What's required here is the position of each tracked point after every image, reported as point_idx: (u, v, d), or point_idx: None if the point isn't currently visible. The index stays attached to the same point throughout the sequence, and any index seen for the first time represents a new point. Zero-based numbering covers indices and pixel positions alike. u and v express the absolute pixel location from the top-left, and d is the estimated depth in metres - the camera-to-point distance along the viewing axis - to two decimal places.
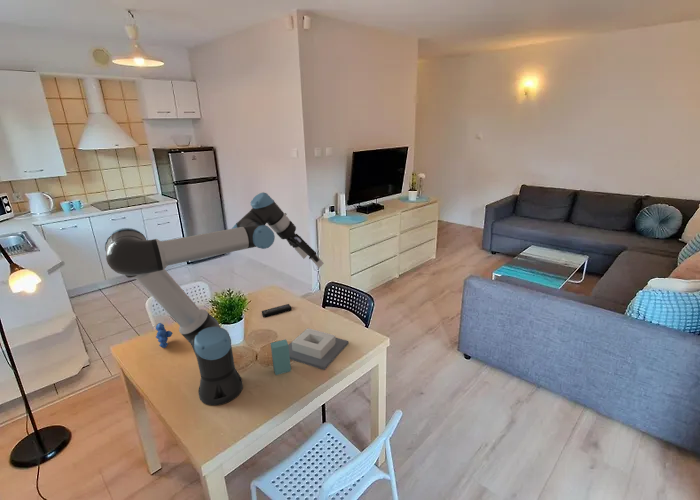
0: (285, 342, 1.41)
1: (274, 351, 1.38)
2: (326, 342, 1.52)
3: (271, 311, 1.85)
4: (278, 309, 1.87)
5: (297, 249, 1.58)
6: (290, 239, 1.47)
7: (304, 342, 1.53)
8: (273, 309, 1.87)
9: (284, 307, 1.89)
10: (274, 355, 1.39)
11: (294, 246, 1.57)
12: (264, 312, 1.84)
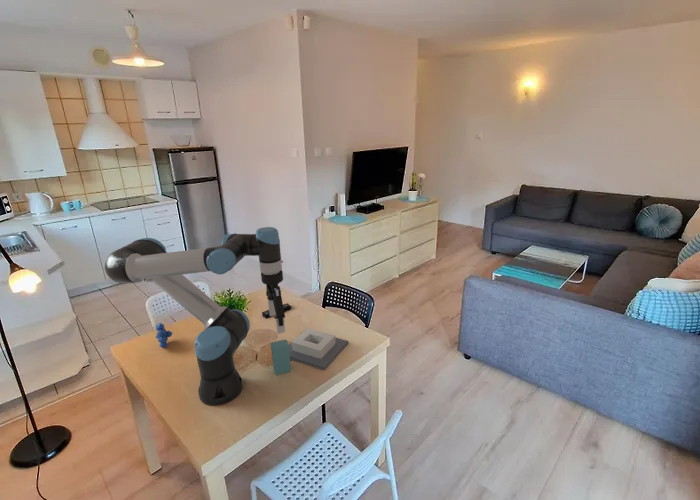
0: (285, 342, 1.41)
1: (274, 351, 1.38)
2: (326, 342, 1.52)
3: None
4: None
5: (270, 303, 1.41)
6: (269, 287, 1.31)
7: (304, 342, 1.53)
8: None
9: (284, 306, 1.89)
10: (274, 355, 1.39)
11: (269, 298, 1.40)
12: (265, 313, 1.83)
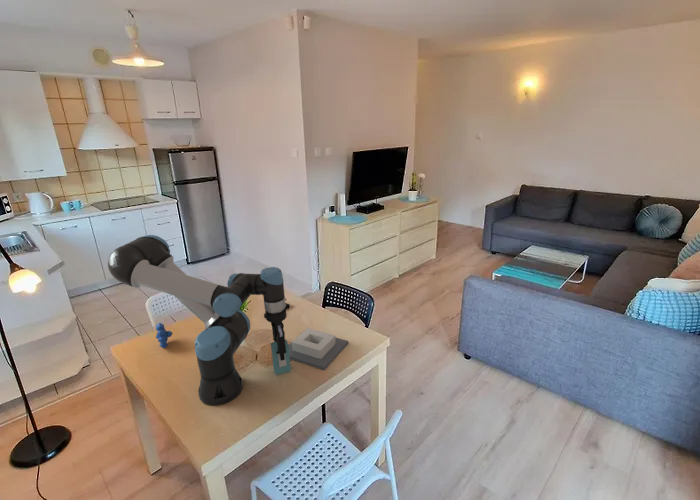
0: (285, 342, 1.41)
1: (274, 351, 1.38)
2: (326, 342, 1.52)
3: None
4: None
5: None
6: (274, 325, 1.35)
7: (304, 342, 1.53)
8: None
9: None
10: (274, 355, 1.39)
11: (275, 341, 1.42)
12: None
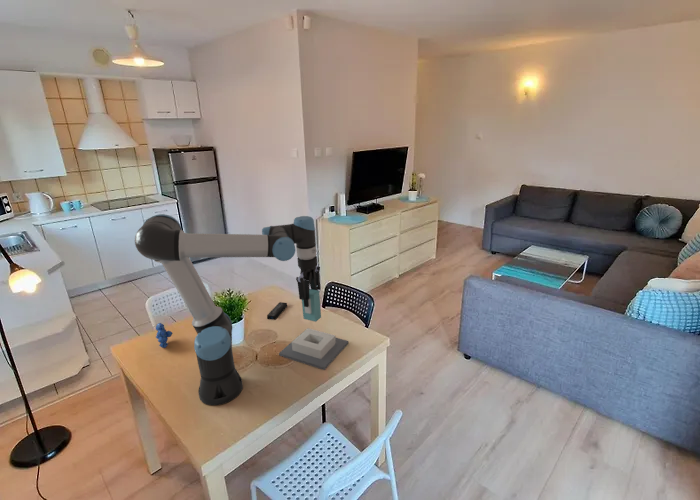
0: (314, 292, 1.46)
1: None
2: (326, 342, 1.52)
3: (276, 312, 1.84)
4: (279, 308, 1.88)
5: None
6: None
7: (304, 342, 1.53)
8: (275, 310, 1.86)
9: (281, 305, 1.91)
10: None
11: None
12: (272, 315, 1.81)
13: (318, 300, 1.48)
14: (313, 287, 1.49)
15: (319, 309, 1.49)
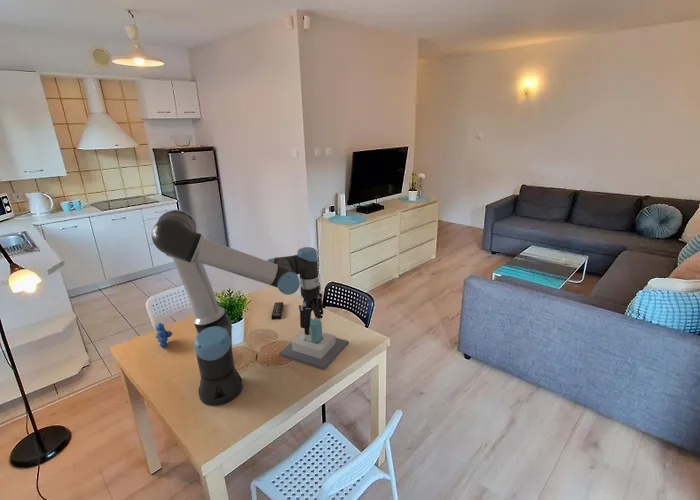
0: (317, 323, 1.51)
1: None
2: (326, 342, 1.52)
3: (279, 311, 1.85)
4: (279, 308, 1.88)
5: None
6: None
7: (304, 342, 1.53)
8: (276, 310, 1.86)
9: (279, 305, 1.91)
10: None
11: (315, 314, 1.55)
12: (276, 315, 1.81)
13: (321, 330, 1.53)
14: (316, 313, 1.54)
15: (321, 339, 1.54)
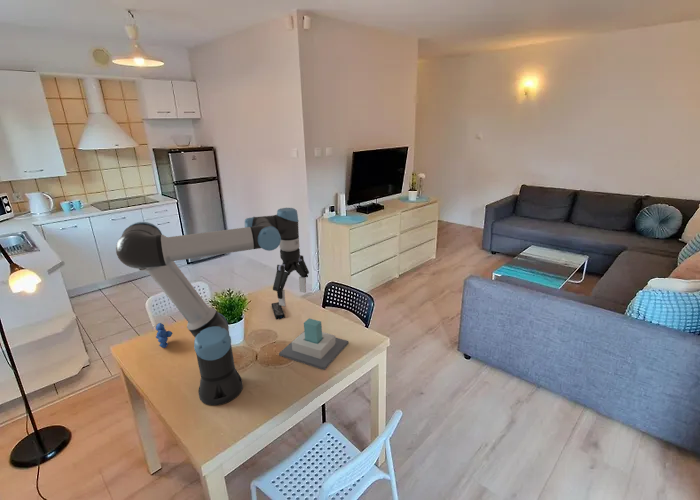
0: (317, 323, 1.51)
1: (305, 326, 1.52)
2: (326, 342, 1.52)
3: (281, 311, 1.85)
4: (279, 307, 1.88)
5: (300, 279, 1.53)
6: None
7: (304, 342, 1.53)
8: (277, 310, 1.86)
9: (277, 305, 1.91)
10: (305, 329, 1.53)
11: (299, 274, 1.52)
12: (280, 314, 1.82)
13: (320, 330, 1.53)
14: (300, 273, 1.51)
15: (321, 339, 1.54)
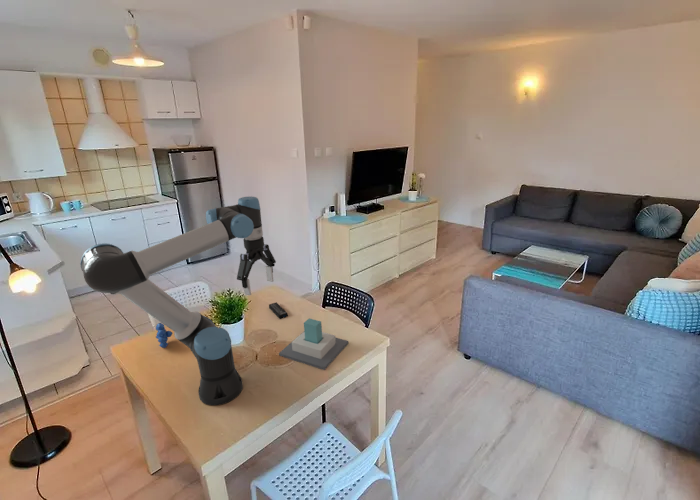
0: (317, 323, 1.51)
1: (305, 326, 1.52)
2: (326, 342, 1.52)
3: (282, 310, 1.86)
4: (279, 307, 1.89)
5: (266, 268, 1.53)
6: None
7: (304, 342, 1.53)
8: (278, 310, 1.86)
9: (275, 305, 1.91)
10: (305, 329, 1.53)
11: (266, 264, 1.52)
12: (283, 313, 1.83)
13: (320, 330, 1.53)
14: (267, 263, 1.51)
15: (321, 339, 1.54)
